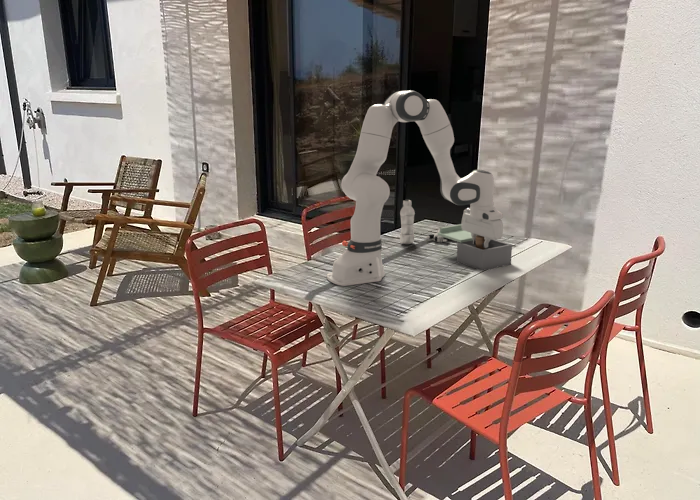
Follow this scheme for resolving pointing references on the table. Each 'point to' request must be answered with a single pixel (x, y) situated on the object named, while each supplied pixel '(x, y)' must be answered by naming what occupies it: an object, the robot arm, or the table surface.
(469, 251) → the housing
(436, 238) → the robot toy
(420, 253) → the table surface
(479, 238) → the brown rounded cylinder
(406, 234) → the plastic bottle
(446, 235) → the lid
